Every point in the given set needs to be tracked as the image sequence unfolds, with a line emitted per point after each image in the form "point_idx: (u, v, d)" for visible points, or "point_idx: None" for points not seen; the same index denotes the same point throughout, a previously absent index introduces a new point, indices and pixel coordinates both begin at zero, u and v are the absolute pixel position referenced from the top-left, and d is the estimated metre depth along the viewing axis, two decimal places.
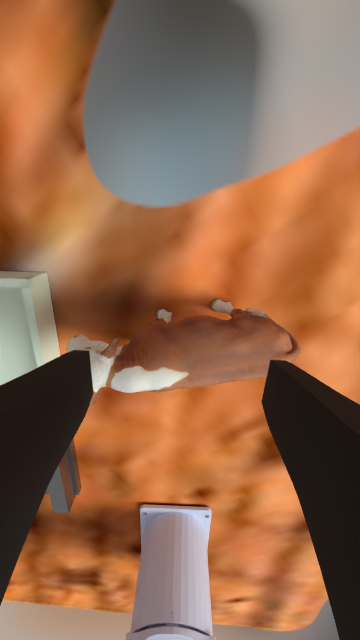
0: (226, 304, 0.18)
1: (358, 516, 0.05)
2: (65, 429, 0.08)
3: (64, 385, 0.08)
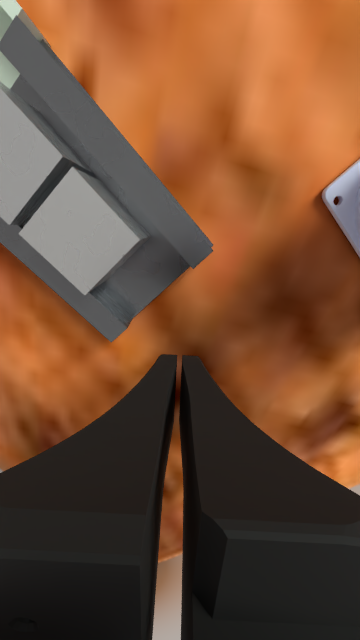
0: None
1: (188, 507, 0.05)
2: (169, 434, 0.08)
3: (172, 390, 0.08)
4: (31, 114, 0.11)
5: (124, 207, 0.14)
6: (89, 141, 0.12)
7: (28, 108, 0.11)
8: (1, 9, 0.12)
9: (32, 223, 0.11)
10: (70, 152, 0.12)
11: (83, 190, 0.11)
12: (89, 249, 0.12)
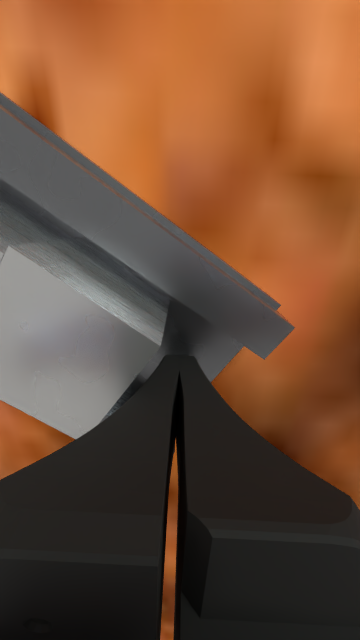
0: None
1: (180, 507, 0.05)
2: (174, 434, 0.08)
3: (177, 391, 0.08)
4: None
5: (122, 269, 0.09)
6: (62, 207, 0.07)
7: None
8: None
9: None
10: (30, 225, 0.07)
11: (39, 284, 0.06)
12: (74, 376, 0.06)
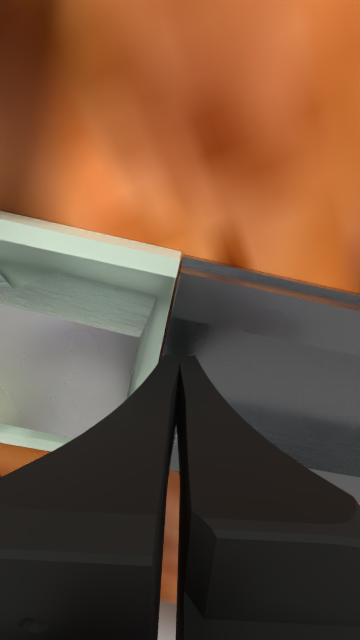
0: None
1: (183, 507, 0.05)
2: (172, 434, 0.08)
3: (175, 391, 0.08)
4: None
5: (103, 284, 0.10)
6: (319, 338, 0.08)
7: None
8: None
9: None
10: None
11: (19, 321, 0.06)
12: (81, 390, 0.07)
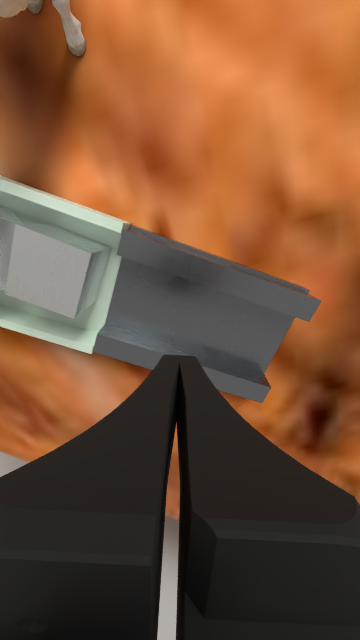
0: None
1: (183, 507, 0.05)
2: (172, 434, 0.08)
3: (175, 391, 0.08)
4: None
5: (79, 235, 0.16)
6: (196, 277, 0.15)
7: None
8: None
9: (10, 281, 0.14)
10: None
11: (31, 237, 0.13)
12: (59, 280, 0.14)
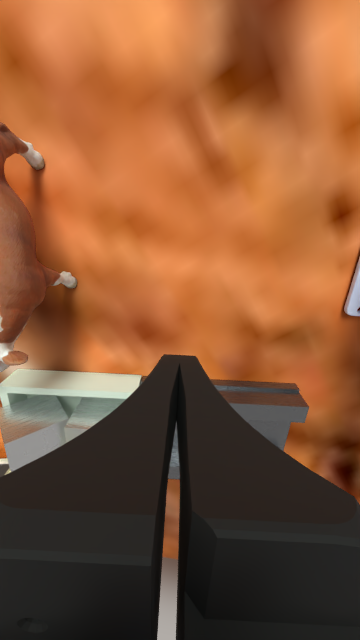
0: None
1: (183, 507, 0.05)
2: (172, 434, 0.08)
3: (175, 391, 0.08)
4: (24, 421, 0.18)
5: None
6: None
7: (14, 420, 0.18)
8: None
9: None
10: (45, 404, 0.20)
11: (77, 432, 0.18)
12: None
